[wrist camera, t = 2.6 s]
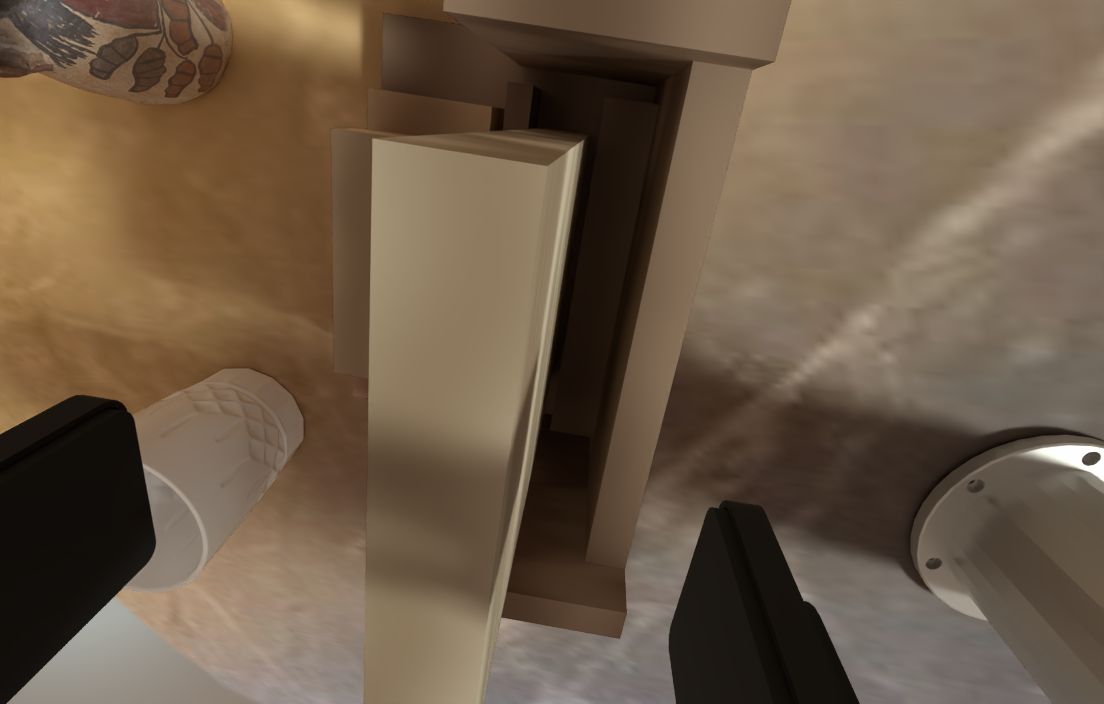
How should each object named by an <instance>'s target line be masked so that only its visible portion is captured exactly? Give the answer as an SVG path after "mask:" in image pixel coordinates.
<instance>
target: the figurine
mask: <svg viewBox="0 0 1104 704" xmlns="http://www.w3.org/2000/svg"><path fill="white" fill-rule="evenodd" d="M231 49H232V26H231V20H230V16H229V15H228V13H227V12H226V10H225V8H224V6H223V3H222V1H221V0H0V77H2V78H11V77H22V76H25V75H28V74H31V73H36V72H38V73H41V74H43V75H46V76H48V77H50V78H53V79H55V80H57V81H60V82H62V83H64V84H67V85H70V86H73V87H76V88H79V89H82V90H85V91H88V92H93V93H97V94H101V95H106V96H110V97H115V98H120V99H124V100H128V101H132V102H136V103H143V104H179V103H184V102H187V101H189V100H192V99H194V98H197V97H199V96H201V95H203V94H205V93H206V92H207V91H209V90H210V89H212V88H213V87H214V86H216V85H217V84H218V82H219V80H220V78H221V76H222V74H223V71H224V69H225V67H226V65H227V62H228V60H229V57H230V55H231Z"/></svg>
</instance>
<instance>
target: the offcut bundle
mask: <svg viewBox="0 0 1104 704" xmlns="http://www.w3.org/2000/svg"><path fill="white" fill-rule="evenodd" d="M504 110H505V109H502V108H495V107H489V106H482V105H476V104H470V103H463V102H457V101H451V100H444V99H438V98H431V97H425V96H419V95H412V94H406V93H400V92H393V91H387V90H380V89H374V88H368V102H367V130H365V129H359V128H331V161H332V248H333V334H334V373H339V374H345V375H350V376H353V396H355V397H360V398H366V399H368V392H369V329H370V266H371V202H372V139H373V138H388V137H404V136H421V135H438V134H454V133H471V132H488V131H502V130H503V120H504Z"/></svg>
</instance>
